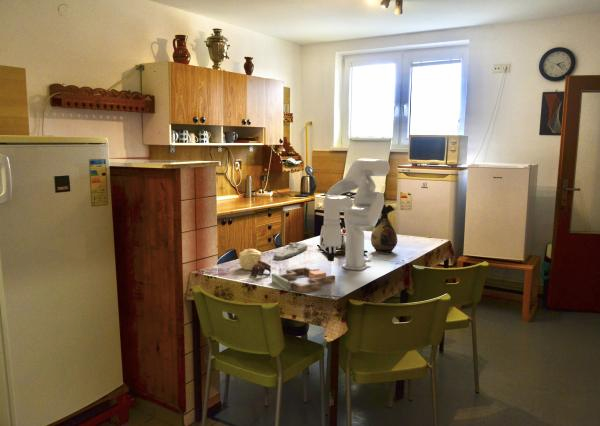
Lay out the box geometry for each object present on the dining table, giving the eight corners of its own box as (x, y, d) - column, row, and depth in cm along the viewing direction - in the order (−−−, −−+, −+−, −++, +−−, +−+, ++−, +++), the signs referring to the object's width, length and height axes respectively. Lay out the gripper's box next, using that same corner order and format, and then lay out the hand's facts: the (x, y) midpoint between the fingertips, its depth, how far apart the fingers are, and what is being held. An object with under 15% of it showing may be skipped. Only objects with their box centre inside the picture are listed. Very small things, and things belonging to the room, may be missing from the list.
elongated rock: (268, 261, 275) (284, 264, 271) (268, 252, 274) (284, 255, 270) (296, 246, 306) (311, 248, 302) (296, 238, 305) (311, 240, 301)
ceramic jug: (395, 249, 298) (396, 200, 294) (398, 255, 283) (399, 203, 279) (367, 249, 300) (368, 200, 295) (368, 255, 285) (369, 203, 280)
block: (320, 278, 238) (320, 270, 237) (326, 281, 233) (326, 272, 232) (309, 279, 235) (308, 271, 235) (315, 282, 230) (315, 274, 229)
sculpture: (240, 272, 248) (239, 251, 246) (238, 266, 259) (237, 246, 258) (262, 271, 250) (262, 250, 248) (260, 265, 261) (259, 245, 260)
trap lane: (311, 272, 248) (311, 264, 247) (342, 285, 225) (342, 276, 224) (266, 279, 235) (266, 271, 235) (293, 294, 212) (293, 285, 212)
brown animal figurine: (248, 274, 246) (255, 259, 247) (265, 282, 247) (272, 267, 249) (250, 274, 234) (257, 258, 236) (268, 282, 235) (275, 266, 237)
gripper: (340, 221, 241) (339, 258, 243) (314, 222, 233) (313, 260, 235) (349, 223, 234) (348, 260, 236) (322, 224, 227) (321, 263, 229)
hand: (330, 260), depth 236 cm, fingers closed
